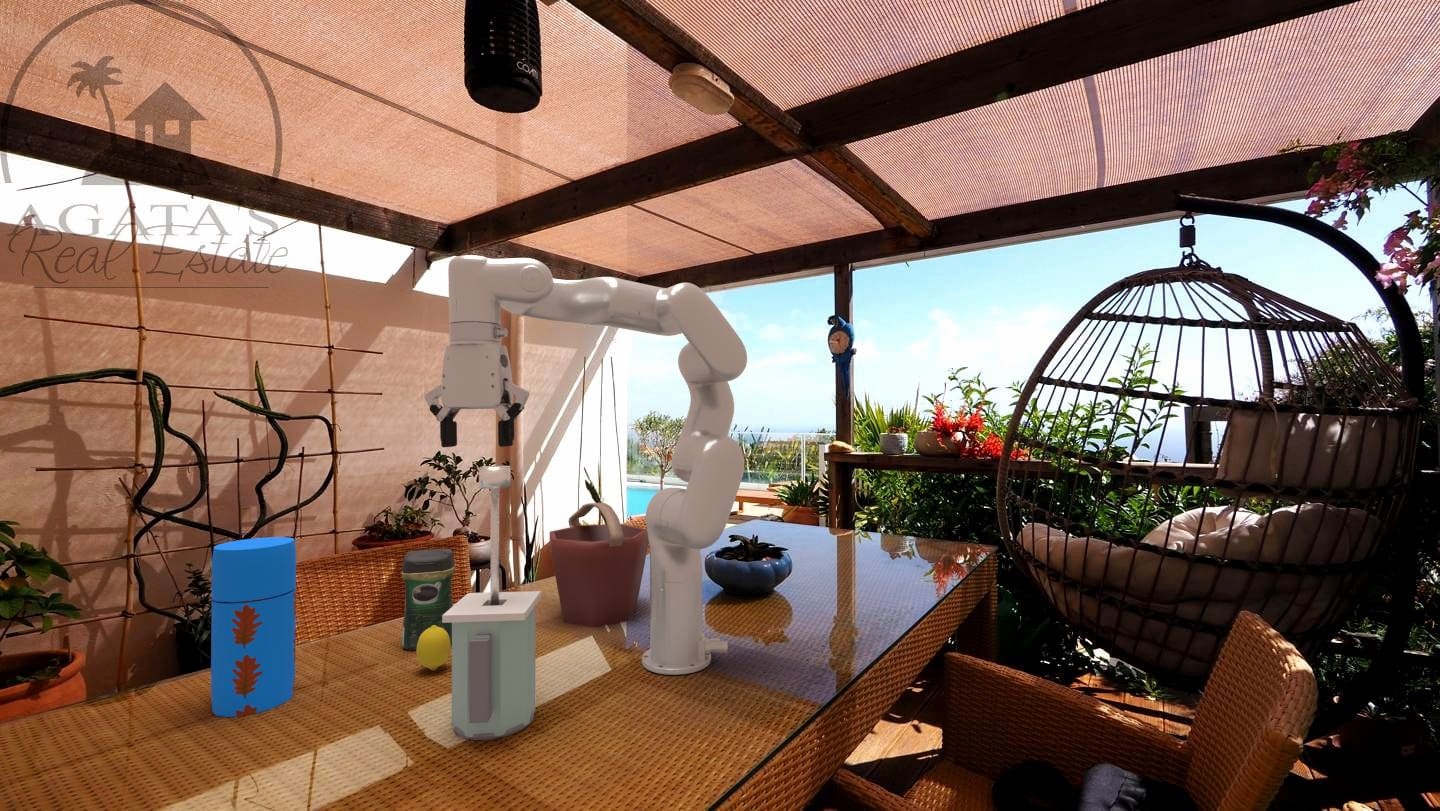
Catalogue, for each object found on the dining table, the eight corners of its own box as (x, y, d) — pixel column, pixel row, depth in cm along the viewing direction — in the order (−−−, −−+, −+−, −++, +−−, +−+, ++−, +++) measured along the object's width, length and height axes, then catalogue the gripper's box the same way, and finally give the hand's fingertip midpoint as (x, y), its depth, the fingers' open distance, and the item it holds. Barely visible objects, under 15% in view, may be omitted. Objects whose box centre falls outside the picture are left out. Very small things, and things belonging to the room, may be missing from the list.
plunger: (528, 621, 98) (528, 464, 99) (515, 639, 90) (515, 468, 91) (475, 623, 98) (475, 465, 98) (457, 641, 90) (458, 469, 90)
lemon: (437, 678, 109) (437, 631, 109) (409, 675, 110) (409, 629, 110) (457, 665, 115) (457, 621, 115) (429, 663, 116) (430, 619, 116)
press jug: (520, 747, 86) (520, 618, 86) (435, 750, 85) (435, 621, 86) (541, 702, 100) (541, 591, 100) (467, 705, 99) (468, 593, 99)
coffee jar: (457, 634, 131) (457, 544, 131) (452, 647, 123) (452, 552, 124) (405, 639, 128) (406, 547, 129) (397, 653, 121) (398, 555, 121)
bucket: (548, 603, 153) (548, 499, 153) (639, 595, 159) (638, 495, 160) (553, 637, 129) (553, 514, 130) (659, 625, 136) (659, 508, 136)
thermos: (202, 723, 93) (203, 553, 94) (219, 695, 103) (220, 540, 103) (290, 707, 98) (291, 545, 99) (299, 682, 108) (300, 534, 108)
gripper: (538, 337, 101) (540, 444, 101) (440, 341, 104) (442, 445, 104) (514, 331, 94) (516, 447, 94) (410, 336, 97) (412, 448, 97)
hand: (477, 446), depth 99 cm, fingers open, 9 cm apart
